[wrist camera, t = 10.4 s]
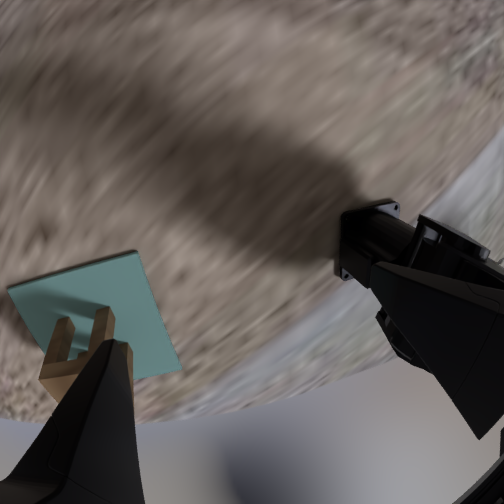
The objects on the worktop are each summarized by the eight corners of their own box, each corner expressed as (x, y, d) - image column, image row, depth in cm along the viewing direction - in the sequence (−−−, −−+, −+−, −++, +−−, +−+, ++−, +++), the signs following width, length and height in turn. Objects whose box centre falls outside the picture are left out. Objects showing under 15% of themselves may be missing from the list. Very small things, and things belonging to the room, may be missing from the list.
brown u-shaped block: (109, 306, 20) (100, 369, 14) (133, 352, 22) (134, 414, 16) (57, 319, 19) (38, 379, 13) (84, 362, 21) (76, 422, 15)
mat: (137, 250, 19) (137, 253, 19) (181, 366, 25) (182, 369, 24) (9, 287, 17) (7, 290, 16) (71, 387, 22) (71, 390, 22)
